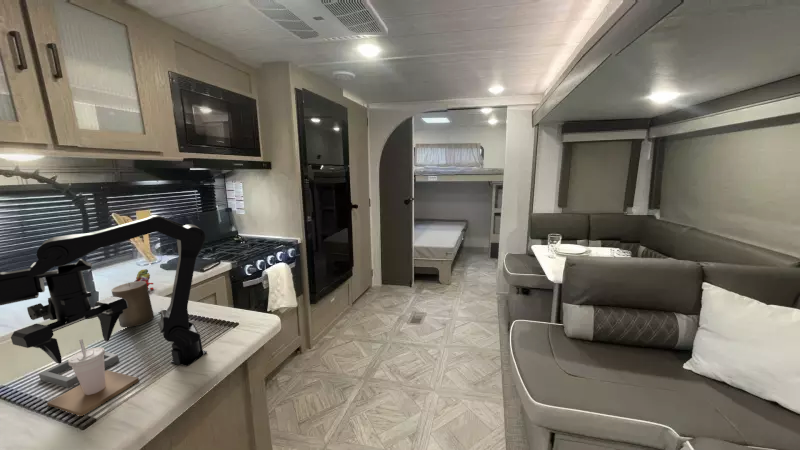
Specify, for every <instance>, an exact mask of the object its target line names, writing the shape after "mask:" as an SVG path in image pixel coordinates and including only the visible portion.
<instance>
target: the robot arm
mask: <svg viewBox="0 0 800 450" xmlns="http://www.w3.org/2000/svg"><path fill="white" fill-rule="evenodd" d="M151 233H160V234H162V235H166V236H168V237H170V238H172V239H175V240H176V241H177V253H178V259H177V265H176V270H175V275H174V282H173V285H172V286H173V287H172V292H171V293H172V294H171V298H170V299H171V300H170V303H169V305H168V307H167V309H166V310H162V309H161V310H160V320H159V321H158V323H157V324H158V325H157V326H158V328H159V332H160V333H161V334H162V336H163V339H165V340H166V342H170V343H171V348H172V349H171V350H170V351H171V356H172V359H171V360H170V363H171V364H176V365H180V366H184V367H188V366H190V365H191V364H193V363H195V362H196V361H197V360H199V359H200V358H201V357H203V356H205V355H206V354H208V351H207V350H204V349H203V347H202V346H203V345H202V339H201V334H200V333H199V331H198V329H197V327H196V324H195V323H194V322H191V321H190V318H189V310H188V305H189V299H190V293H191V287H192V282H193V278H194V277H193V276H194V273H195V272H194V271H195V267H196V265H195V264H196V260H197V258H198V256H199V254H200V253H201V251H202V250H203V246H204V243H205V241H206V233H205V231H204V230H202V229H201V228H200V227H198V226H197V225H195V224H187V223H186V224H185V225H184V224H183V223H179V222H177V221H174V220H171V219H167V218H165V217H163V216H161V215H158V214H152V215H150V216H148V217H144V218H141V219H137V220H135V221H134V220H133V221H130V222H126V223H123V224H119V225H116V226H111V227H108V228H103V229H100V230H96V231H94V232H92V231H91V232H87V233H86V232H85V233H74V234H67V235H60V236H59V235H58V236H53V237H51V238H48V239H46V240H45V241H44V242H42V244H41V245H40V246H39V247H38V249H37V251H36V257H37V261H36V262H35V261H34V262H32V264H31V266H29V268H25V269H18V270H13V271H0V306H4V305H5V306H6V305H10V304H14V303H18V302H24V301H29V300H33V299H38V298H39V295H40V293H45V291H46V289H45V283H44V278H45V281H46V284H47V289H48V292H49V296H50V297H47V302H48V304H45V305H43V304H42V303H36V304H34V305H30V306H28V307H26V309H27V313H28V316H29V318H30V320H31V321H35V320H38V319H41V318H42V319H43V321H47V320H50V321H54V320H56V321H54V322H52V323H48V324H46V325H45V324H40V323H34V324H30V325H29V326H26V327H23V328H19V329H17V330H14V331H13V333H12V334H11V336H10V339H11V343H12V345H15V346H19V347H22V348H27V349H29V348H36V349H40V350H42V351H43V352H44V353H45V354H46V355H47V356H48V357H49V358H50V359H51V360H52V361H54V362H55V363H56V364H57V365H58V364H60V363H62V358H63V357H62V355H61V350H60V347H59V343H58V339H57V338H54V332H56V331H59V330H61V329H64V328H67V327H69V326H71V325H74V324H77V323H80V322H81V321H84V320H87V319H89V318H92V317H94V316H96V317H97V318H98V321H99V323H100V329H101V334H102V337H103V339H104V342H109V341H110V339H111V338H112V337H111V336H112V334H113V331H114V328H115V326H116V324H117V321H119V319H118V318H119V316H120V314H122V313H123V311H122V310H124V309H127V308H128V302H127V301H126V299H124V298H119V297H113V295H112V296H109V297H106V298H104V299H100V300H98V301H96V302H95V303H94V307H92V306H91V302H90V299H89V298H91V297H92V292H91V291H88V289H87V286H86V283H85V278H84V275H83V271H86V270H92V267H93V264H92V263H91V262H89V261H85V260H84V259H83V257H84V256H87V255H89V254H90V253H93V252H95V251H96V250H99V249H102V248H105V247H108V246H111V245H115V244H118V243H121V242H126V241H129V240H131V239H134V238H138V237H142V236H145V235H149V234H151ZM76 260H77V262H75V261H76ZM71 262H74V263H71ZM54 267H57V269H54V270H53V268H54Z"/></svg>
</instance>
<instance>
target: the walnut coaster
mask: <svg viewBox="0 0 800 450" xmlns="http://www.w3.org/2000/svg"><path fill="white" fill-rule="evenodd" d="M138 382H140V378H139V377H138V376H133V375H128V374H124V373H120V372H117V371H111V370H108V369H107V370H106V369H105V383H106V386H105V388H104V389H102V390H101V391H99V392H97V393H95V394H91V395H86V394H85V392H84V390H83V388H82V386H81V384H78V385H77V386H75V387H74V388H71V389H70V390H68V391H66V392H64V393H62V394H61V395H59V396H57V397H55V398H53V399H51V400H50V401H48V402H47V407H48V406H51V407H55V408H58V409H61V410H64V411H67V412H70V413H73V414H76V415H79V416H83V415H84V414H86V413H88V412H89V411H91V410H92V411H94V410H95V408H96V407H97V408H99V407H100V406H102V405H104V404H105V403H106V401H107V402H108V401H110V400H111V399H113V398H115V397H116V396H118V395H119V394H121V393H122V392H124V391H126V390H127V389H129V388H131V387H132V386H134V385H135V384H137V383H138ZM133 384H134V385H133ZM130 386H131V387H130ZM109 399H110V400H109ZM101 404H102V405H101ZM98 406H99V407H98ZM51 407H50V408H51ZM97 408H96V409H97ZM58 409H57V410H58ZM93 409H94V410H93ZM61 410H60V411H61ZM64 411H63V412H64ZM92 411H91V412H92ZM67 412H66V413H67ZM70 413H69V414H70ZM89 413H90V412H89ZM89 413H88V414H89ZM73 414H72V415H73ZM76 415H75V416H76ZM86 415H87V414H86ZM79 416H78V417H79ZM84 416H85V415H84ZM84 416H83V417H84Z"/></svg>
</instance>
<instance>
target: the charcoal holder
mask: <svg viewBox="0 0 800 450" xmlns="http://www.w3.org/2000/svg"><path fill="white" fill-rule="evenodd" d="M68 360H69V359H67V360H64V361H63V362H62V363H60V364H58V363H57V364H56V365H55V366H52V367H50V368H48V369H46V370H44V371H42V372H39V373H38V376H39V379H40V381H42V382H45V383H49V384H51V385H52V384H53V385H56V386H59V387H62V388H63V387H64V388H66V389H69V388H71V387H73V386H76V385H77V384H78V383H79V384H80V382H79V380H78V378H77V376H76V374H75V373H74V374H73V375H71V376H66V375H62V374H60V373H63V372H65V371H67V370H69V369H71V368H72V366H69V363H68ZM119 361H120V359H119V355H118V354H116V353H112V352H107V351H105V354H104V365H105V369H106V368H108V367H111V366H112V365H114V364H116V363H117V362H119Z"/></svg>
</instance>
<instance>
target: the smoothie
mask: <svg viewBox="0 0 800 450" xmlns="http://www.w3.org/2000/svg"><path fill="white" fill-rule="evenodd" d="M78 341H79V344H80V348H81V349H80V350H81V351H79V352H77V353H76V354H73V355H72V356H70V357H69V358H68V359H67V360H68V363H69V366H72V367H71V368H72V370H73V373H74V375H75V374H76V376H77V378H78V380H79V385H81V386H82V388H83V390H84V392H85V394H86V395H91V394H95V393H97V392H99V391H101V390H102V389H104V388H105V386H106V383H105V371H106V368H105V365H104V354H105V352H106V351H105V350H106V349H105V348H104V347H100V346H98V347H92V348H87V349H86V348H85V344H84V340H83V338H81V339H79V340H78Z"/></svg>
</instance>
